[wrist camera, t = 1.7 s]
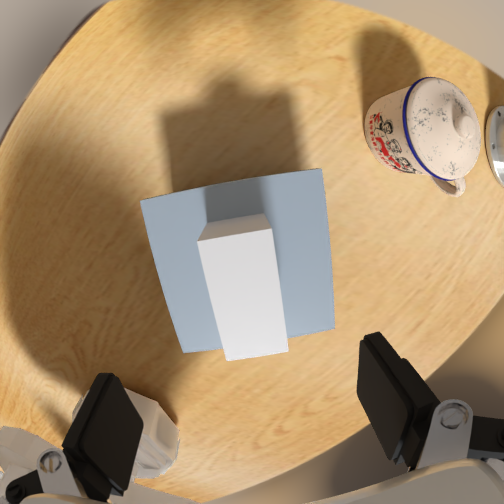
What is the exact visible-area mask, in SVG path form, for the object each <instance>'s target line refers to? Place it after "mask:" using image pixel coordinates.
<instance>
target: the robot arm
mask: <svg viewBox="0 0 504 504" xmlns="http://www.w3.org/2000/svg"><path fill="white" fill-rule="evenodd" d="M486 149H487V155H488V159H489V163H490V166H491V169H492V172H493V174H494V176H495V178H496V180H497V181H498V182H499V184H500V185H501V186H502V187H504V106H497V107H495V108H494V109H493V110H492V111H491V112H490V114H489V117H488V120H487V124H486ZM357 395H358V398H359V400H360V402H361V404H362V406H363V408H364V410H365V412H366V414H367V416H368V418H369V420H370V422H371V424H372V427H373V429H374V431H375V433H376V435H377V437H378V439H379V441H380V443H381V445H382V447H383V449H384V452H385V454H386V456H387V458H388V459H389V460H394V462H395V464H396V465H398V464H400V463H403V462H405V463H406V465H407V467H409V469H408V472H407V473H405V474H403V475H400V476H397V477H395V478H392V479H389V480H386V481H383V482H381V483H378V484H375V485H372V486H369V487H366V488H362V489H360V490H356V491H352V492H349V493H345V494H342V495H338V496H334V497H331V498H327V499H323V500H318V501H314V502H309V503H304V504H504V419H495V418H487V417H479V416H473V413H472V410H471V408H470V407H469V405H468V404H466V403H465V402H463V401H460V400H447V401H444V402H442V403H440V401H439V400H438V399H437V397H436V396H435V395H434V393H433V392H432V391H431V390H430V388H429V387H428V385H427V384H426V383H425V382H424V380H423V379H422V378H421V376H420V375H419V374H418V373H417V371H416V370H415V369H414V368H413V366H412V365H411V364H410V363H409V361H408V360H407V359H405V358H402V359H401V358H400V356H399V355H398V354H397V353H396V351H395V350H394V349H393V347H392V346H391V345H390V344H389V342H388V341H387V340H386V339H385V337H384V336H383V335H382V334H381V333H380V332H375V333H371V334H368V335H365V336H364V340H361V341H360V348H359V366H358V380H357ZM143 427H144V423H143V420H142V418H141V416H140V415H139V413H138V411H137V410H136V408H135V406H134V405H133V403H132V401H131V400H130V398H129V396H128V394H127V393H126V391H125V389H124V387H123V385H122V383H121V382H120V380H119V378H118V377H117V376H115V375H114V374H113V373H99V374H98V375H97V377H96V379H95V381H94V382H93V384H92V386H91V388H90V390H89V392H88V394H87V395H86V397H85V399H84V401H83V403H82V405H81V407H80V409H79V411H78V413H77V415H76V417H75V419H74V421H73V423H72V425H71V427H70V429H69V431H68V433H67V435H66V437H65V439H64V441H63V443H62V445H61V446H62V447H63V448H64V449H63V451H61V450H59V449H56V448H51V449H47V450H45V451H44V452H42V453H41V454H40V456H39V457H38V459H37V469H36V470H34V471H32V472H30V473H28V474H26V475H24V476H21V477H19V478H17V479H15V480H13V481H11V482H10V483H9V484H8V485H7V487H6V491H5V495H6V497H4V496H1V497H0V504H112V502H111V500H110V498H109V497H110V494H111V495H116V496H122V497H123V495H124V491H126V490H127V489H128V486H129V482H130V478H131V474H132V470H133V466H134V462H135V458H136V454H137V450H138V446H139V442H140V439H141V435H142V431H143Z"/></svg>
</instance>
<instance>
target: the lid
mask: <svg viewBox="0 0 504 504" xmlns="http://www.w3.org/2000/svg"><path fill="white" fill-rule="evenodd" d="M140 204H141V208H142V213H143V217H144V222H145V226H146V230H147V234H148V238H149V242H150V246H151V250H152V254H153V258H154V261H155V265H156V269H157V272H158V276H159V279H160V283H161V286H162V290H163V293H164V296H165V300H166V303H167V306H168V309H169V312H170V316H171V319H172V322H173V325H174V328H175V331H176V334H177V337H178V340H179V342H180V345H181V348H182V351H183V353H189V352H198V351H207V350H216V349H224V353H225V357H226V360H227V361H231V360H239V359H246V358H253V357H259V356H265V355H271V354H277V353H283V352H288V351H289V349H288V341H287V338H292V337H297V336H303V335H308V334H312V333H317V332H322V331H327V330H331V329H335V318H334V294H333V276H332V261H331V248H330V237H329V226H328V216H327V207H326V198H325V190H324V182H323V175H322V169H319V168H316V169H308V170H300V171H293V172H286V173H279V174H272V175H265V176H259V177H253V178H247V179H241V180H235V181H229V182H224V183H218V184H213V185H208V186H203V187H198V188H193V189H188V190H183V191H178V192H174V193H169V194H165V195H160V196H156V197H152V198H147V199H144V200H141V201H140Z"/></svg>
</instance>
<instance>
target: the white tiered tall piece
mask: <svg viewBox="0 0 504 504" xmlns="http://www.w3.org/2000/svg"><path fill="white" fill-rule="evenodd" d="M124 389H125V391H126V393H127V394H128V396H129V398H130V400H131V401H132V403H133V405H134V406H135V408H136V410H137V411H138V413H139V415H140V416H141V418H142V420H143V423H144V427H143V431H142V435H141V439H140V442H139V446H138V450H137V454H136V458H135V462H134V466H133V470H132V474H131V478H130V482H129V486H128V489H127V490H126V491H124V495H123V497H122V496H116V495H111V494H110V497H109V498H110V500H111V502H112V504H201V503H198V502H196V501H193V500H191V499H187V498H183V497H179V496H175V495H172V494H168V493H165V492H161V491H158V490H155V489H151V488H148V487H145V486H142V485H139V484H136V483H134V480H135V478H155V477H159V475H160V474H165V472H166V471H167V470H168V468H170V467H171V466H172V465H173V463H174V462H175V460H176V459H177V454H178V448H179V442H180V439H179V440H178V437H179V431H180V430H179V429H178V427H177V426H176V425H175V424H174V423H173V421H172V420H171V419H170V418H169V417H168V415H167V414H166V413H165V412H164V410H163V409H162V408H161V407H160V405H159V404H158V402H157V401H154V400H152V399H149V398H147V397H144V396H142V395H140V394H137V393H135V392H133V391H130V390H128V389H126V388H124ZM88 392H89V390H88V391H87V393H86V394H85V396H84V398H83V400H82V397H83V394H82V396H81V398H80V400H79V401H78V403H77V405H76V407H75V409H74V411H73V415H72V423H73V421H74V419H75V417H76V415H77V413H78V411H79V409H80V407H81V405H82V403H83V401H84V399H85V397H86V395H87V394H88ZM1 427H2V426H1ZM51 448H56V449H59V448H57V447H56V446H54V445H52V444H50V443H49V442H47V441H45V440H44V439H42V438H41V437H39V436H37V435H34V434H32V433H30V432H28V431H25V430H23V429H21V428H13V427H7V426H3V427H2V429H1V430H0V466H1V467H2V469H3V471H4V474H3V476H2V478H1V480H0V497H1V496H4V497H6V495H5V491H6V487H7V485H8V484H9V483H10V482H11V481H13V480H15V479H17V478H19V477H21V476H24V475H26V474H28V473H30V472H32V471H34V470H36V469H37V459H38V457H39V456H40V454H41V453H42V452H44V451H45V450H47V449H51ZM59 450H61V449H59ZM61 451H63V450H61Z"/></svg>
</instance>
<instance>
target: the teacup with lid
mask: <svg viewBox="0 0 504 504" xmlns="http://www.w3.org/2000/svg"><path fill="white" fill-rule="evenodd" d="M364 128H365V136H366V140H367V143H368V146H369V148H370V150H371V152H372V154H373V155H374V156H375V158H376V159H377V160H378V161H379V162H380V163H381V164H382V165H384V166H385V167H387V168H388V169H391V170H393V171H397V172H404V173H413V174H422V175H429V176H430V178H431V180H432V181H433V182H434V184H435V185H436V186H437V187H438V188H439V189H440V190H442V191H443V192H444V193H446V194H448V195H450V196H453V197H459V196H460V195H462V194H463V192H464V191H465V187H466V184H465V179H464V176H465V175H466V174H467V173H468V172H469V171H470V170H471V169H472V168H473V166H474V165H475V163H476V161H477V158H478V155H479V151H480V145H481V134H480V127H479V122H478V119H477V116H476V113H475V111H474V108H473V106H472V105H471V103H470V101H469V100H468V98H467V97H466V96H465V95H464V93H463V92H462V91H461V90H460V89H459V88H458V87H456V86H455V85H454V84H452V83H450V82H449V81H446V80H444V79H441V78H436V77H425V78H422V79H419V80H418V81H416V82H415V83H414V84H413V85H411V86H408V87H406V88H403V89H401V90H398V91H395V92H393V93H390V94H388V95H385V96H383V97H381V98H379V99H377V100H376V101H375V102H374V103H373V104H372V105H371V106H370V108H369V109H368V112H367V114H366V118H365V126H364ZM452 180H454V182H455V185H456V186H453V185H451V184H450V183H448V182H447V181H452Z"/></svg>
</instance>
